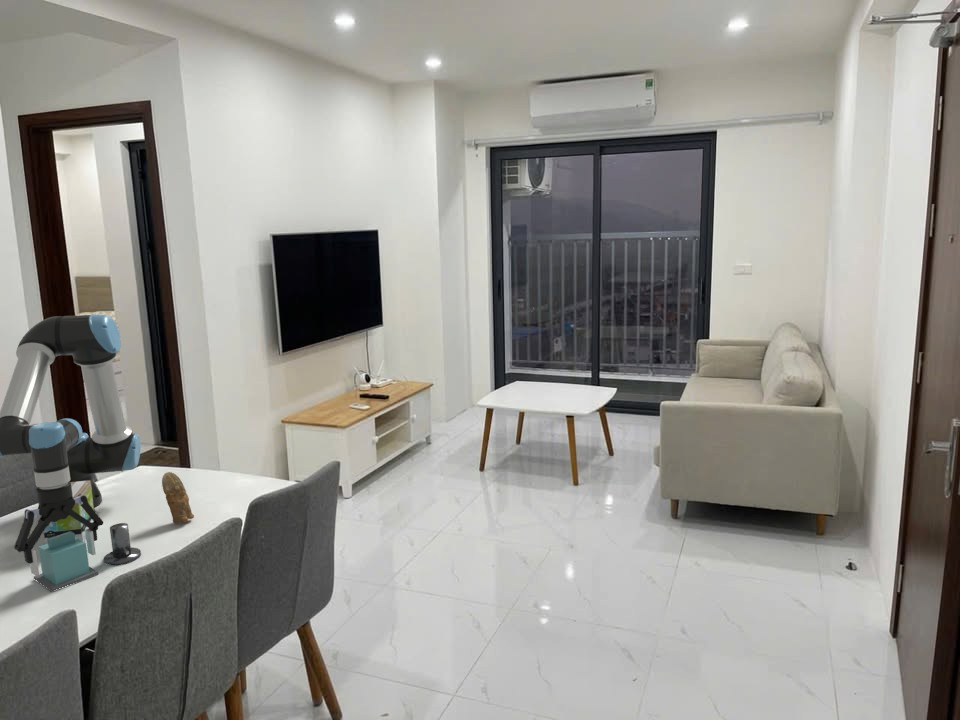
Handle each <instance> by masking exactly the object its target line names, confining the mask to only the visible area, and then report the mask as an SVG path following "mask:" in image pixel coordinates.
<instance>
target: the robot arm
mask: <svg viewBox="0 0 960 720" xmlns="http://www.w3.org/2000/svg"><path fill="white" fill-rule="evenodd" d="M121 345H122V343H121V335H120V330H119V327H118V326H117V323H116V321H115V320H114V318H112V317H111V316H110V315H107V314H96V313H92V314H82V315H80V314H79V315H64V316H61V315H58V316H57V315H56V316H50V317H47V318H45V319H43V320H41V321H39V322H37V323H36V324H35V325H33V326H32V327H31V328H29V330H27V332H26V333H25V334H24V336H23V337H22V338H21V340H20V341H19V343H18V345H17V348H16V350H15V354H16V357H17V360H16V361H17V362H16V365H15V367H14V370H13V373H12V375H11V380H10V382H9V384H8V388H7V390H6V393H5V397H4V399H3V403H2V405H1V408H0V457H4V456H12V455H13V456H14V455H22V454H23V455H24V454H31V455H30V456H31V459H32V466H33V473H34V481H35V486H36V487H37V488H36V497H37V503H38V505H37V506H38V507H37V508H36V509H25V510H24V511H23V512H24V513H23V514H24V520H23V522H22V525H21V527H20V530H19V532H18V535H17V538H16V541H15V544H14V546H13V549H14V550H15V551H17V552H19V553H21V552H23V554H24V555H23V556H24V561H25V563H26V564H28V565H29V566H30V573H31V574H32V575H34V576H37V575H40V572H39V571H40V570H39V563H38V557H37V551H36V550H37V549H34V547H35V545H36V544H37V543H38V541H39V539H40V538H41V536H42V535H43V534H44V532H43V531H44V530H45V528H46V527H47V526H48V525H49V524H50V522H56V521H58V520H60V519H66V518H67V517H68V516H69V515H70V516H71V517H73V518H74V519H76V520H78V521H79V522H81V523H82V524H84V525H85V526H87V527H88V528H89V529H85V533H86V540H85V542H86V548H87V554H89V555H92V556H95V555H96V545H95V542H96V541H97V540H98V533H97V531H98V529H99V527H100V526H102V525H104V521H103V520H102V518H101V517H100V516H99V515H98V513H97V512H96V511H95V509H94V510H93V508H92V507H91V506H90V505H89V503H88V500H87V497H86V496H84V495H82V494H79V495H78V497H76V498H73V496H72V495H73V494H72V487H71V483H70V482H78V481H89V480H90V481H91V488H92V497H93V506H94V508H96V507H98V506H99V505H101V504H102V503H103V497H102V496H103V495H102V493H101V491H100V489H99V487H98V485H97V484H96V482H95V480H94V475H93V474H101V473H113V472H114V473H116V472H124V471H132V470H134V469H136V468H137V466H138V464H139V461H140V456H141V448H142V447H141V446H142V445H141V436H140V435H139V434H138V433H133V429H132V427H131V426H129V425H127V424H126V421H125V417H124V412H123V408H122V407H123V405H122V401H121V399H120V392H119V387H118V383H117V377H116V373H115V369H114V368H115V367H114V362H113V360H114V359H115V358H116V357H117V353H118V352H120V349H121ZM58 356H72V360H73V363H74V364H76V365H77V366H80V367H81V373H82V377H83V381H84V385H85V389H86V390H85V391H86V395H87V399H88V403H89V407H90V412H91V415H92V421H93V425H94V429H95V431H94V432H93V433H92V435H91V437H90V436H89V435H88V433H86V432H83V429H82V426H81V424H80V423H79V421H77V420H76V419H73V418H68V417H67V418H62V419H61V418H60V419H59V420H56V421H48V422H42V423H32V424H31V422H32V419H33V417H34V416H33V415H34V412H35V409H36V407H37V404H38V400H39V397H40V393H41V391H42V387H43V384H44V381H45V377H46V374H47V371H48V368H49V366H50V365H52V364H53V363H54V362H55V359H56V357H58ZM75 503H77V504H79V505H81V506H82V508H83V509H84V510H85V511H86V513H87V514H88V515H89V516H90V517H91V519H92V520H93V521H94V522H93V523H91V522H90V521H88V520H86V519H85V518H83V517H82V516H80V515H79V514H78V513H76V512H75V511H73V510H72V509H73V507H74V505H75ZM37 515H40V517H39V519H38V520H37V523H36V525H35V527H33V525H34V523H35V519H36V518H37ZM32 528H33V530H32ZM31 530H32V531H31Z"/></svg>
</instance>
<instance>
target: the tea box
mask: <svg viewBox="0 0 960 720" xmlns="http://www.w3.org/2000/svg"><path fill="white" fill-rule="evenodd" d="M70 483H71V487H72V494H73V495H72V496H73V498H76V497H78V495H79V494H82V495H84V496H86V497H87V500H88V503H89V505H90V506H91V507H92V508H93V510H94V511H95V509H94V508H95V507H94V506H93V497H92V488H91V481H90V480H89V481H78V482H70ZM72 510H73V511H75V512H76V513H78V514H79V515H80V516H82V517H83V518H85V519H86V520H88V521H90V522H91V523H93V522H94V521H93V520H92V519H91V517H90V516H89V515H88V514H87V513H86V511H85V510H84V509H83V508H82V506H81V505H79V504H77V503H75V505H74V507H73V509H72ZM85 529H89V528H88V527H87V526H85V525H84V524H82V523H81V522H79V521H78V520H76V519H74V518H73V517H71V516H70V515H69V516H68V517H67V518H66V519H60V520H58V521H56V522H50V524H49V525H48V526H47V527H46V528H45V530H44V531H43V538H44V540H43V541H44V545H45V544H48V540H47V539H49V538H52V537H55V536H58V535H61V534H64V533H67V532H70V531H71V532H73V533H74V534H75V538H77V539H79V540H81V541H83V542H85V543H86V533H85Z"/></svg>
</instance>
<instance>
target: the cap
mask: <svg viewBox="0 0 960 720" xmlns="http://www.w3.org/2000/svg"><path fill="white" fill-rule="evenodd" d="M47 540H48V544H45V543H44V544H43V545H39V546H38V553H39V559H40V566H41V572H42V573H41V574H42V575H43V576H44V577H45V578H47V579H48V580H50V581H51V582H53V583H54V584H56V585H57V584H60V583H62V582H65V581H67V580H70V579H73V578H75V577H78V576H81V575H83V574H86V573H89V572H90V571H89V567H90V565H89V557H88V549H87V542H86V541H85V542H83V541H81V540H79V539H77V538H75V534H74V533H73V532H71V531H70V532H67V533H64V534H61V535H58V536H55V537H52V538H49V539H47Z"/></svg>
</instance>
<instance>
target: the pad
mask: <svg viewBox="0 0 960 720" xmlns="http://www.w3.org/2000/svg"><path fill="white" fill-rule="evenodd" d="M89 571H90V572H89V573H86V574H83V575H81V576H78V577H75V578H73V579H70V580H67V581H65V582H62V583H60V584H57V585H56V584H54V583H53V582H51V581H50V580H48V579H47V578H45V577H44V576H43V575H42V573H39V575H37V576H35V575H34V576H33V580H34V579H35V580H37V581H38V582H39V583H38V582H37V581H36V582H37V583H38V584H40V583H41V584H42V585H41V584H40V585H41V586H43V585H44V586H45V587H44V586H43V587H44V588H46V587H47V588H48V589H47V588H46V589H47V590H49V589H50V590H51V591H50V590H49V591H50V592H52V591H54V590H56V589H59V588H62V587H64V588H66V587H65V586H67V585H69V586H71V585H70V584H72V585H74V584H73V583H75V584H76V582H77V583H79V582H81V581H82V580H83V581H85V580H88V579H90V578H93V577H95V576H98V575H99V571H98V570H96V569H94V568H93V567H91V566H89ZM35 580H34V581H35ZM67 587H68V586H67ZM62 589H63V588H62ZM59 590H60V589H59ZM56 591H57V590H56ZM54 592H55V591H54Z"/></svg>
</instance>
